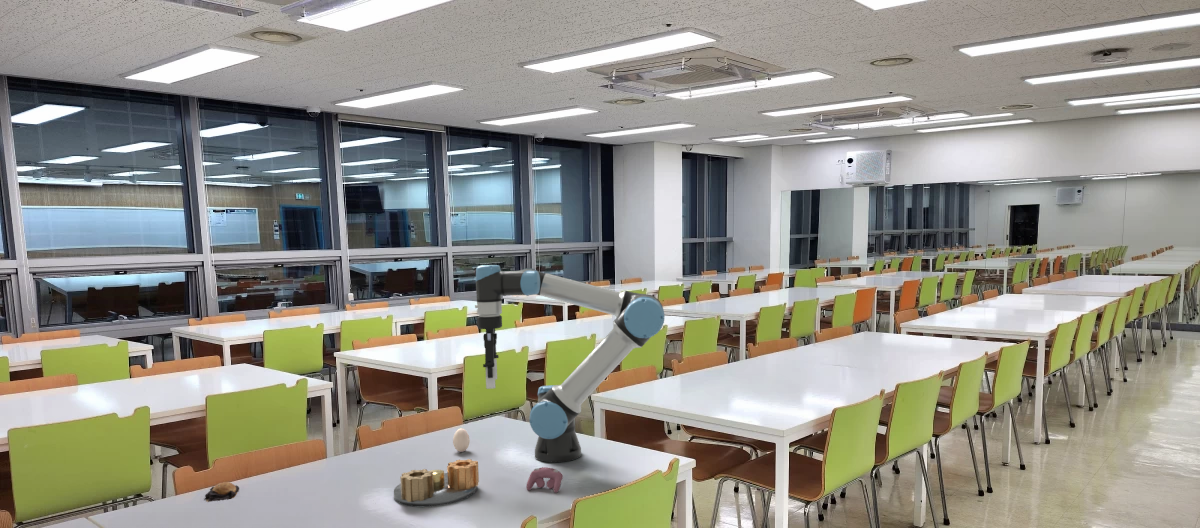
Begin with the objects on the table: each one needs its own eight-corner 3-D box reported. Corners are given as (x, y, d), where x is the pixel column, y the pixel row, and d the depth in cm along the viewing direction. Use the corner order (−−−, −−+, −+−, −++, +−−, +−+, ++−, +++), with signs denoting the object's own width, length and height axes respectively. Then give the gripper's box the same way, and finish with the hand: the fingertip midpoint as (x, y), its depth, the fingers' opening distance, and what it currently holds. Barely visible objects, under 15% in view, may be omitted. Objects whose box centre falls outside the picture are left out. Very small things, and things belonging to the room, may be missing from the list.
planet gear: (479, 478, 213) (478, 458, 212) (477, 488, 204) (476, 467, 204) (450, 480, 212) (449, 460, 212) (446, 490, 203) (446, 469, 203)
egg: (462, 448, 249) (461, 425, 249) (473, 450, 246) (472, 427, 246) (450, 452, 245) (449, 429, 244) (461, 455, 242) (460, 431, 241)
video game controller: (562, 494, 206) (565, 469, 209) (556, 492, 202) (560, 467, 205) (530, 492, 209) (533, 467, 212) (524, 489, 205) (528, 464, 208)
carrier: (479, 475, 220) (478, 451, 219) (473, 503, 197) (472, 476, 197) (401, 480, 217) (400, 455, 217) (386, 509, 195) (385, 481, 194)
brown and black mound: (209, 492, 214) (208, 480, 214) (240, 488, 217) (240, 476, 217) (203, 504, 204) (202, 491, 204) (236, 499, 207) (235, 487, 207)
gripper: (479, 311, 236) (482, 376, 237) (474, 320, 211) (476, 392, 212) (503, 310, 237) (505, 375, 237) (500, 319, 212) (502, 391, 213)
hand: (491, 383), depth 225 cm, fingers open, 13 cm apart
